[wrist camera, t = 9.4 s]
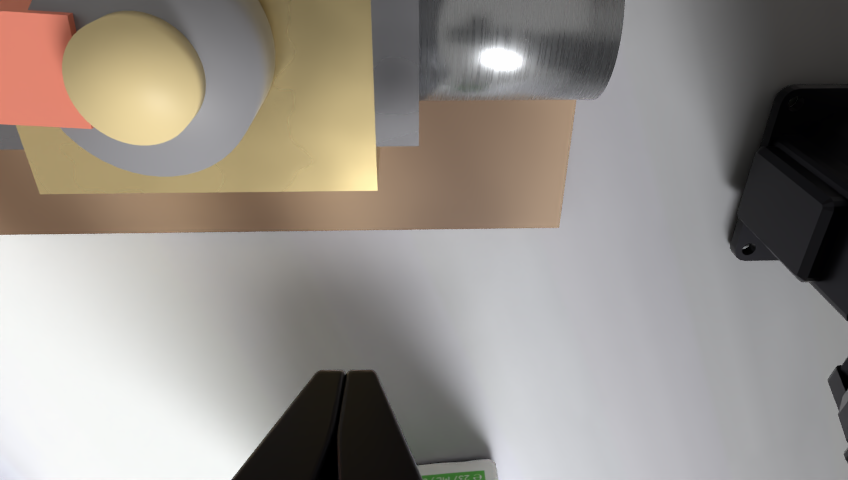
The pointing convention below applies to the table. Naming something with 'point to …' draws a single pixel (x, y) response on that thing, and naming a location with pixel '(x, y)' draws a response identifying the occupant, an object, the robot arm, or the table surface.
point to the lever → (138, 76)
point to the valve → (365, 89)
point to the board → (349, 210)
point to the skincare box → (460, 470)
